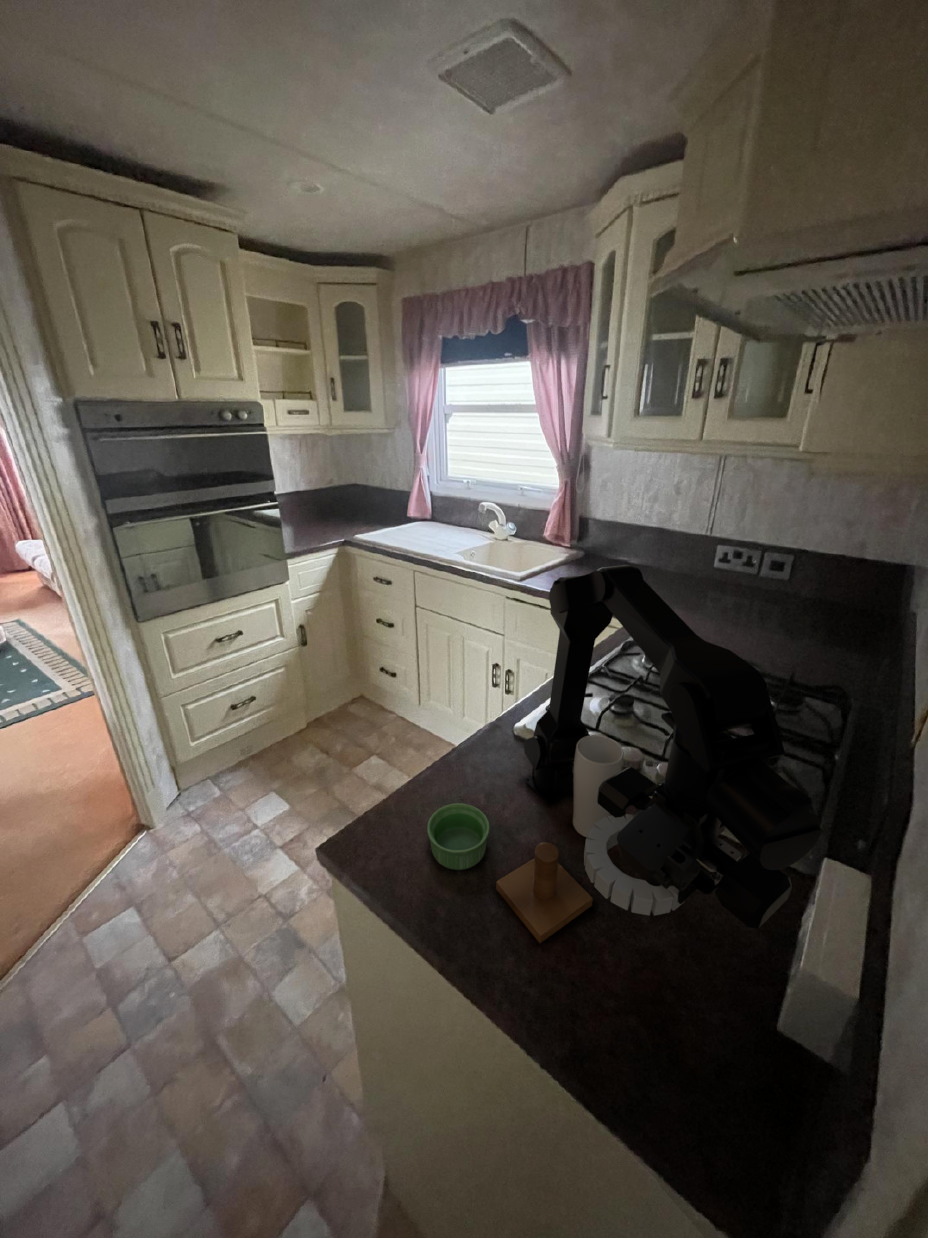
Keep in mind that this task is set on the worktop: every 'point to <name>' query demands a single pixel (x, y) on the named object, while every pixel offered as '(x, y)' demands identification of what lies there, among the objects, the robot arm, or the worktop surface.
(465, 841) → the ramekin
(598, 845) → the segmented block ring
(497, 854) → the worktop surface
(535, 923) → the wooden peg stand
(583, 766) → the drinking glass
